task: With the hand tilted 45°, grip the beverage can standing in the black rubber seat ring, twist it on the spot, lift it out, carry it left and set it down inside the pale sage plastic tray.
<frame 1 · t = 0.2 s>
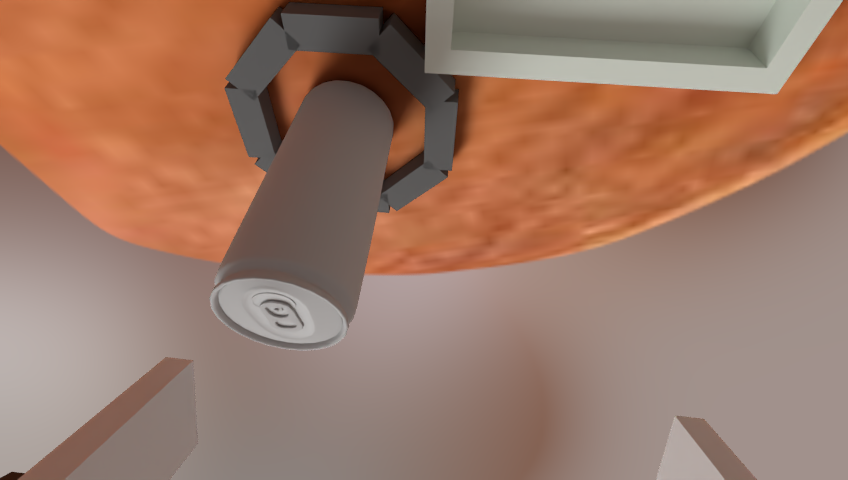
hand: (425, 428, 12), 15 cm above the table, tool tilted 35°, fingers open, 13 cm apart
beverage can: (350, 116, 22), resting in seat ring
seat ring: (349, 118, 22), on the table
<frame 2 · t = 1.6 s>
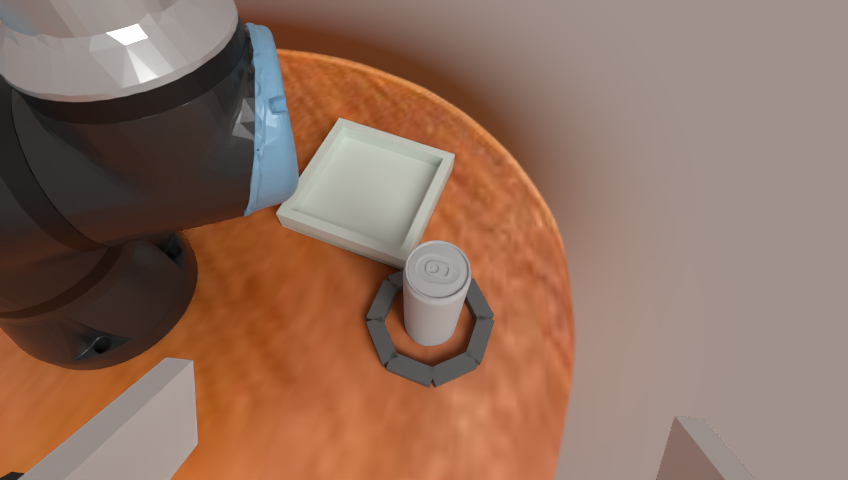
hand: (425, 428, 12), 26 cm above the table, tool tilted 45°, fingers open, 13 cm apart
tray: (371, 196, 46), on the table
beverage can: (429, 323, 40), resting in seat ring
seat ring: (429, 322, 40), on the table
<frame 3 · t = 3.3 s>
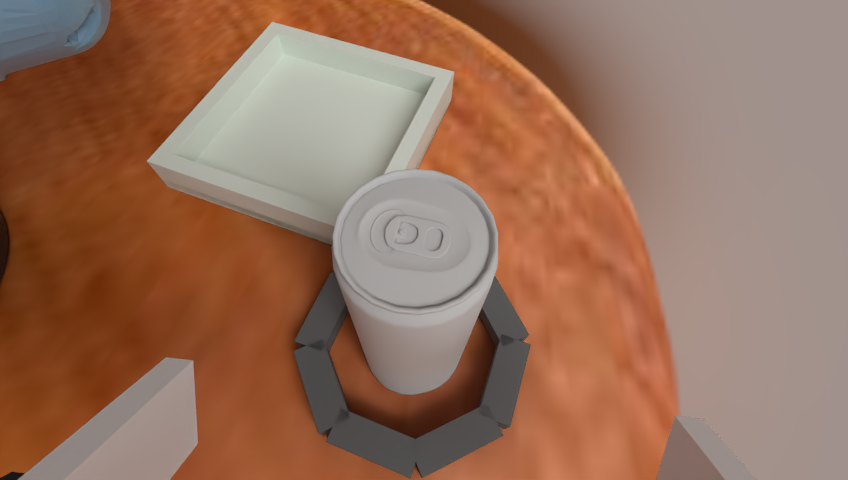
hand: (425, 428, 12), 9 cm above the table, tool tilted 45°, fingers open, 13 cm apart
tray: (320, 140, 29), on the table
beverage can: (413, 350, 22), resting in seat ring
seat ring: (413, 349, 22), on the table
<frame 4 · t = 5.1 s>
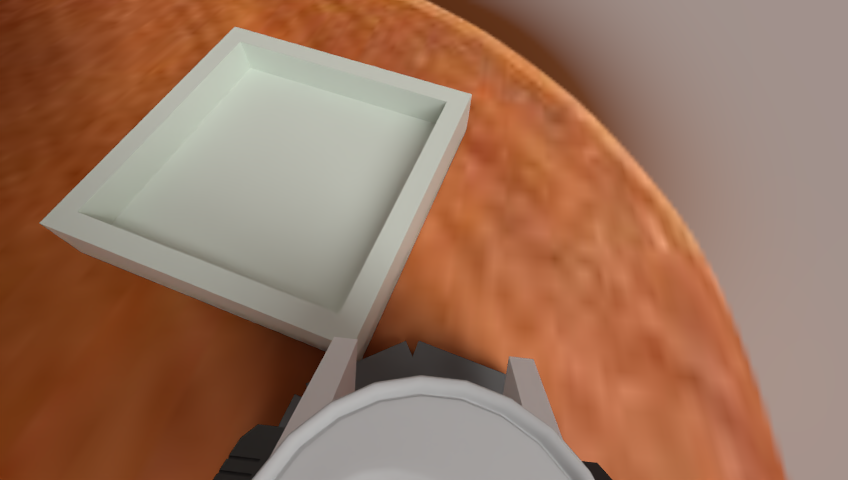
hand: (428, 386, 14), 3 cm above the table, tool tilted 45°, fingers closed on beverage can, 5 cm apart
tray: (293, 184, 22), on the table
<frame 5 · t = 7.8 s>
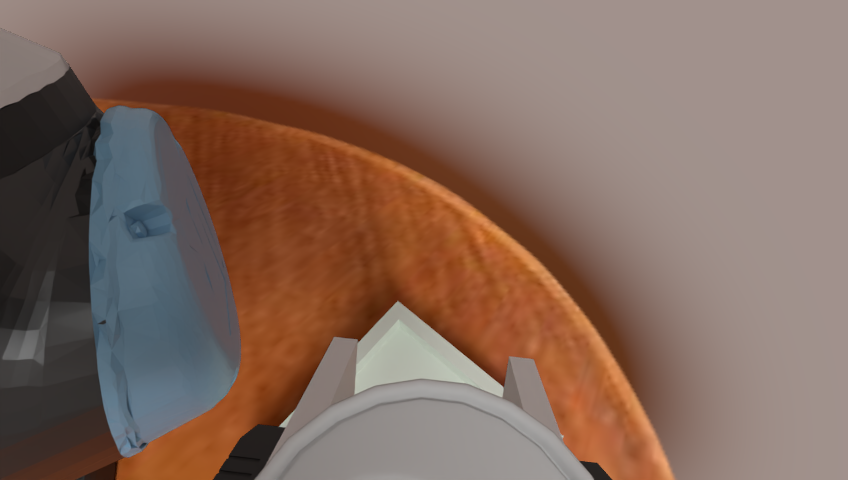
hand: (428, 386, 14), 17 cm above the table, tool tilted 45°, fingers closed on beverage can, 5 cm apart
tray: (406, 453, 28), on the table
when the fingers open (6 cm above the table, at t = 10.5 s): beverage can drops 1 cm, resting on tray.
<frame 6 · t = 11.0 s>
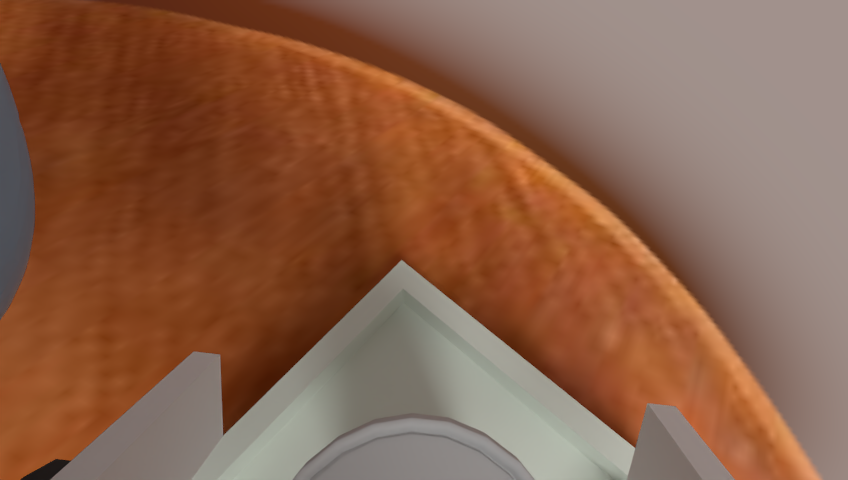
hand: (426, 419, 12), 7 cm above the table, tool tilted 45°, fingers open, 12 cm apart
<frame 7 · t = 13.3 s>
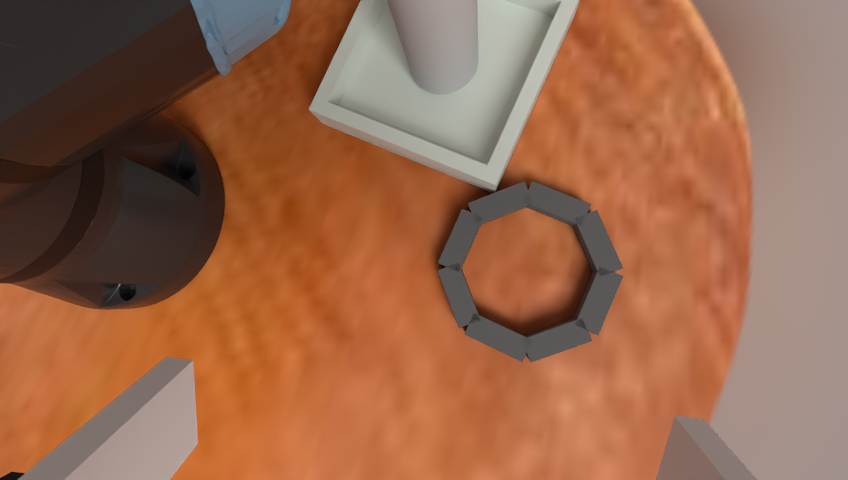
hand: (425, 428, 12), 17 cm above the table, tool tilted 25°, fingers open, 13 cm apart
tray: (444, 71, 31), on the table
beverage can: (444, 67, 30), point 1 cm above the table, touching tray
seat ring: (525, 270, 29), on the table
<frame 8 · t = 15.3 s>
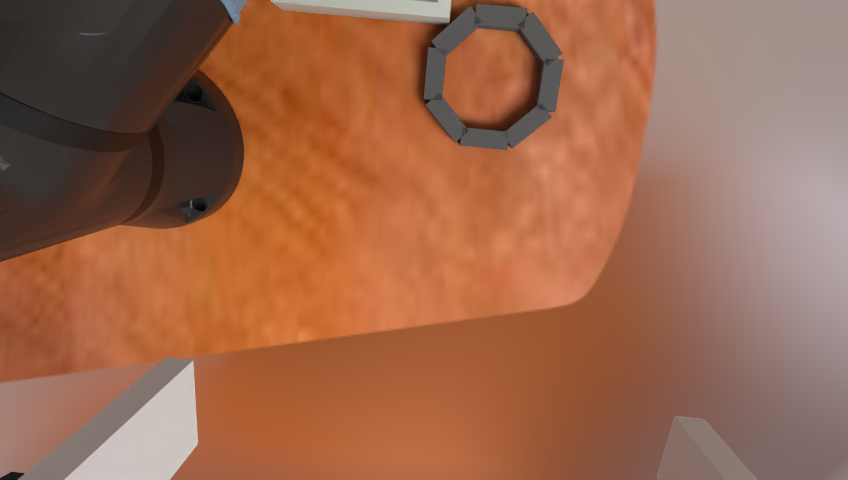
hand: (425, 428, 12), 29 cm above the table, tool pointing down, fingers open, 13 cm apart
seat ring: (490, 81, 36), on the table
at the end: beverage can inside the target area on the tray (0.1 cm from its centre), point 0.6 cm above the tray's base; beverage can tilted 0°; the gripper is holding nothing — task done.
